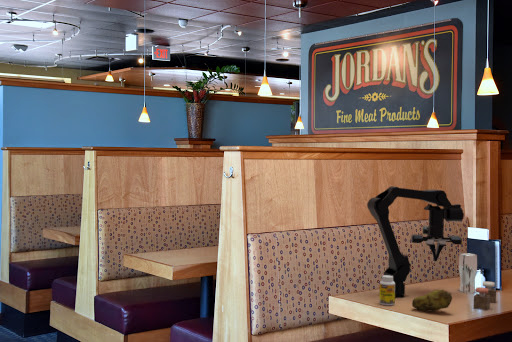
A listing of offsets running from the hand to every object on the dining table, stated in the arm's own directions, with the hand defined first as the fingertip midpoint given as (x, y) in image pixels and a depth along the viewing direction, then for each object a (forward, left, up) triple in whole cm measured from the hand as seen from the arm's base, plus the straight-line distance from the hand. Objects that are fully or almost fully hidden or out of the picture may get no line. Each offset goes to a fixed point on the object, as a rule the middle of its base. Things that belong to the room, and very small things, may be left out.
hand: (435, 261), depth 245 cm
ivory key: (+18, -8, -11) cm, 23 cm away
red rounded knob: (+13, -20, -11) cm, 27 cm away
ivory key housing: (+18, -8, -13) cm, 24 cm away
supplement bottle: (-20, -21, -13) cm, 32 cm away
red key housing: (+13, -20, -13) cm, 27 cm away
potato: (-5, -29, -13) cm, 32 cm away
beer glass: (+14, +8, -13) cm, 21 cm away
